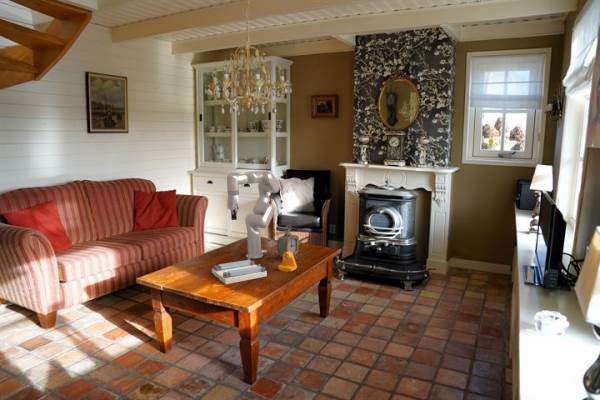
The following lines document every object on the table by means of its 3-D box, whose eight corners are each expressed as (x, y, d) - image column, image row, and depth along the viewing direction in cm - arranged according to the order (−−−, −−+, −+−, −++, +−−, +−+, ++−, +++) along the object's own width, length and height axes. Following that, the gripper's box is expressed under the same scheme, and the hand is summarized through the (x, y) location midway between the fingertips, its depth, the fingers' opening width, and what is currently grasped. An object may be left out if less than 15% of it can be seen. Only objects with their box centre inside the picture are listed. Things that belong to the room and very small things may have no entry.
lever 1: (249, 262, 308) (249, 259, 308) (252, 264, 304) (252, 261, 304) (218, 267, 297) (218, 264, 297) (221, 269, 293) (221, 266, 293)
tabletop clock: (286, 263, 317) (286, 228, 313) (276, 260, 323) (276, 226, 319) (299, 258, 329) (298, 224, 325) (289, 256, 334) (288, 222, 330)
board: (251, 266, 311) (250, 257, 310) (266, 276, 291) (266, 267, 290) (211, 273, 297) (211, 264, 296) (225, 284, 277) (225, 274, 276)
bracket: (277, 270, 302) (277, 252, 300) (282, 267, 308) (282, 250, 306) (291, 272, 297) (291, 255, 295) (296, 269, 303) (296, 252, 301)
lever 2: (259, 268, 295) (259, 265, 294) (262, 271, 291) (262, 268, 290) (227, 274, 284) (227, 271, 283) (230, 276, 279) (230, 273, 279)
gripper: (223, 192, 310) (224, 218, 313) (232, 194, 297) (233, 222, 300) (234, 191, 314) (234, 217, 317) (242, 193, 301) (243, 221, 304)
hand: (234, 219), depth 309 cm, fingers closed
